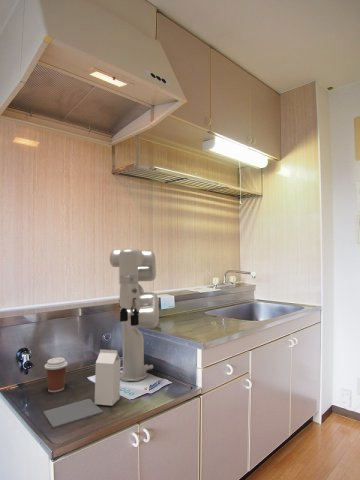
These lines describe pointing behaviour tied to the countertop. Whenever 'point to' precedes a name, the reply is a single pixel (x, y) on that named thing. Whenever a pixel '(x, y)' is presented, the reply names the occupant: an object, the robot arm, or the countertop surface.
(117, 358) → the milk carton
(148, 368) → the robot arm
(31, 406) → the countertop surface
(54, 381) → the coffee cup
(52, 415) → the mat
